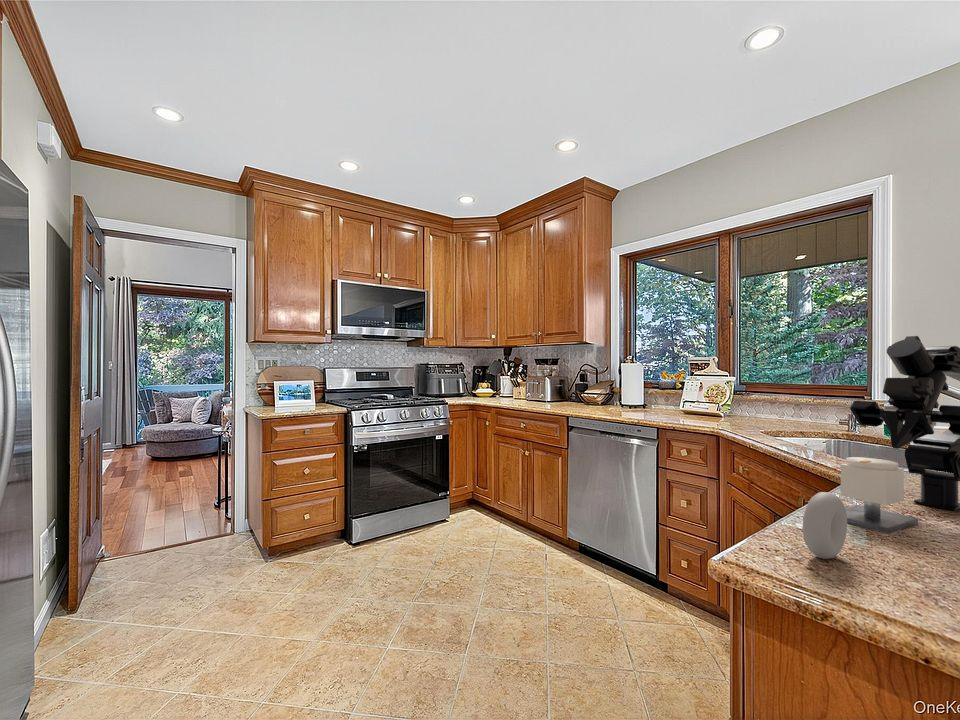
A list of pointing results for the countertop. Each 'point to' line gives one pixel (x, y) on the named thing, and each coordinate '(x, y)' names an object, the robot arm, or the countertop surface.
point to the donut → (825, 525)
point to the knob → (872, 480)
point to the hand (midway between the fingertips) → (894, 447)
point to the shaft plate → (877, 518)
